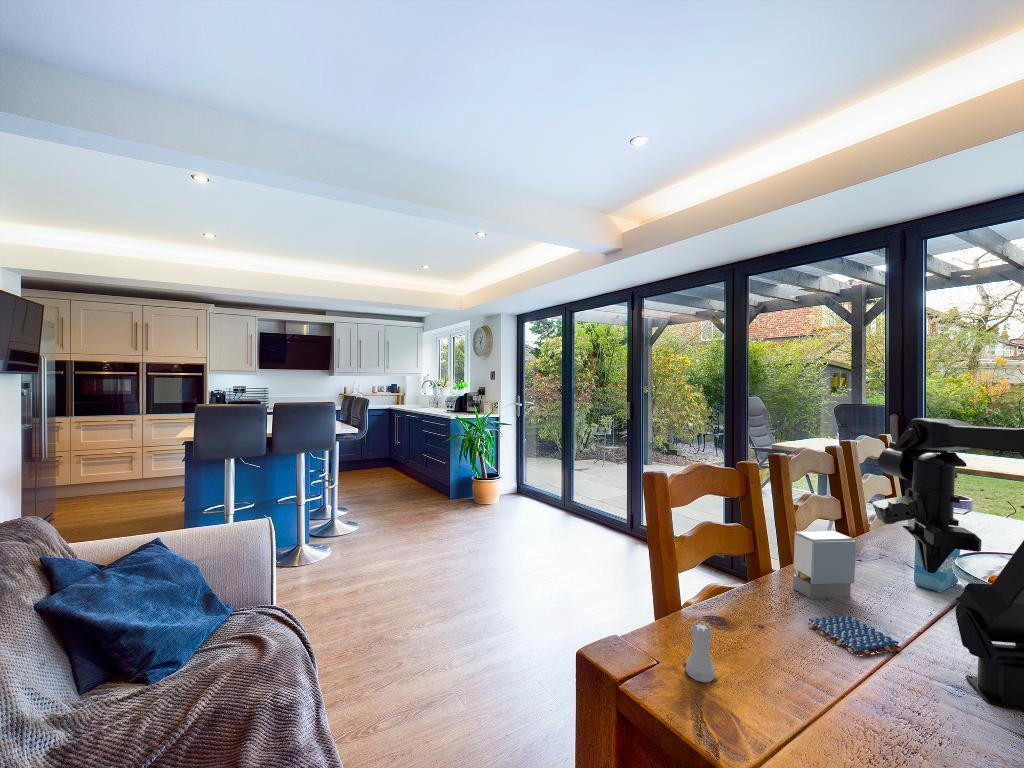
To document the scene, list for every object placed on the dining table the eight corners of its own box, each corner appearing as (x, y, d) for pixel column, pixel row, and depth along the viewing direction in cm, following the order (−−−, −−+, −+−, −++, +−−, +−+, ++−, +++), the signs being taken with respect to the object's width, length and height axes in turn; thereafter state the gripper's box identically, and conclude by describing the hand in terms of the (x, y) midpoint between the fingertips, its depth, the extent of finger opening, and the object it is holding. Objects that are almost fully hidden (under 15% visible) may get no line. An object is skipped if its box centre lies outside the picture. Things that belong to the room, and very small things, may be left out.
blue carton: (937, 593, 104) (940, 541, 104) (913, 585, 108) (915, 535, 108) (959, 583, 110) (961, 533, 110) (934, 576, 114) (936, 528, 114)
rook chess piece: (690, 662, 76) (691, 614, 76) (718, 673, 74) (720, 624, 73) (681, 675, 73) (682, 625, 73) (710, 688, 70) (712, 636, 70)
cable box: (850, 596, 102) (852, 538, 101) (810, 598, 100) (812, 539, 100) (831, 586, 107) (833, 530, 106) (792, 588, 105) (794, 531, 105)
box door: (854, 582, 101) (855, 541, 101) (812, 584, 100) (814, 542, 99) (851, 581, 101) (853, 540, 101) (810, 583, 100) (812, 541, 100)
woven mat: (859, 661, 79) (859, 650, 79) (804, 628, 89) (805, 618, 89) (904, 654, 81) (905, 642, 81) (847, 622, 92) (847, 612, 91)
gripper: (861, 472, 95) (858, 547, 96) (899, 493, 78) (896, 584, 78) (929, 478, 91) (926, 556, 92) (985, 501, 74) (981, 597, 74)
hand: (929, 571), depth 84 cm, fingers closed
